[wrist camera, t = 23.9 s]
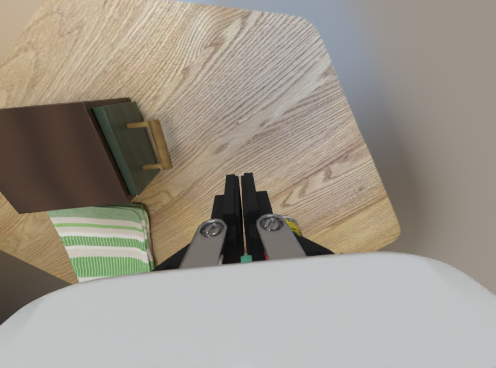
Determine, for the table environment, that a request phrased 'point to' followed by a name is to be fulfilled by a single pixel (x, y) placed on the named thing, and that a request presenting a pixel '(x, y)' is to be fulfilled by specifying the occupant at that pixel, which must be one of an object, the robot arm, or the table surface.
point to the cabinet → (57, 158)
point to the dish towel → (105, 239)
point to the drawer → (132, 144)
